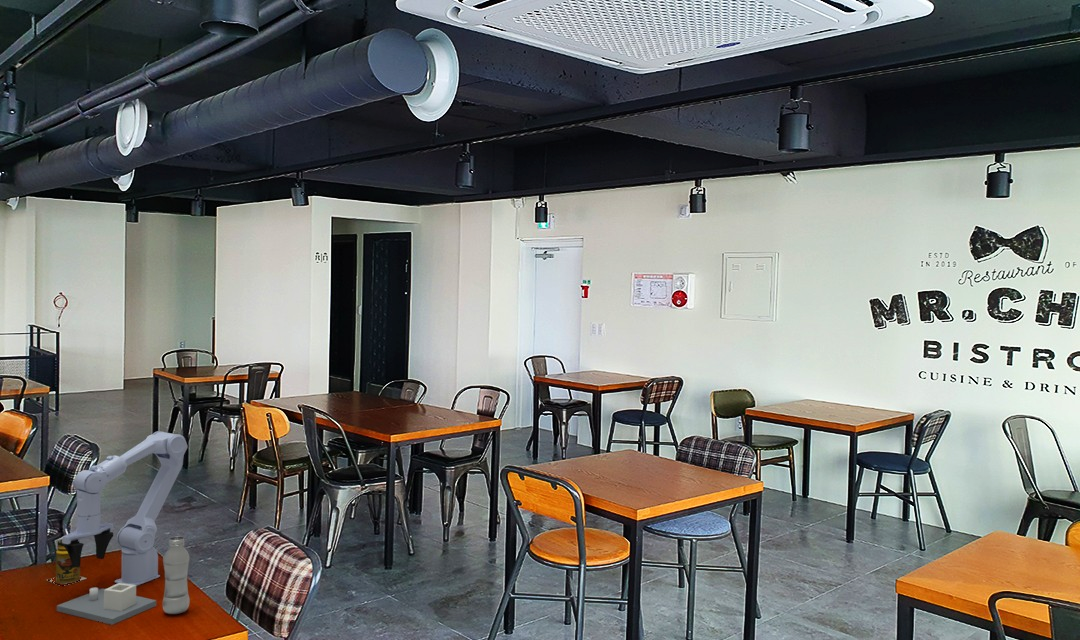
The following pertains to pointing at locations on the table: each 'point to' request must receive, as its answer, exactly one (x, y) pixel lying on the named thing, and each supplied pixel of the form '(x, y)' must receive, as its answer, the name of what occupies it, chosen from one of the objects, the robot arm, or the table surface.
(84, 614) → the pin board
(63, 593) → the table surface
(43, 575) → the table surface
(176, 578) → the plastic bottle
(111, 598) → the collar
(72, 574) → the condiment
